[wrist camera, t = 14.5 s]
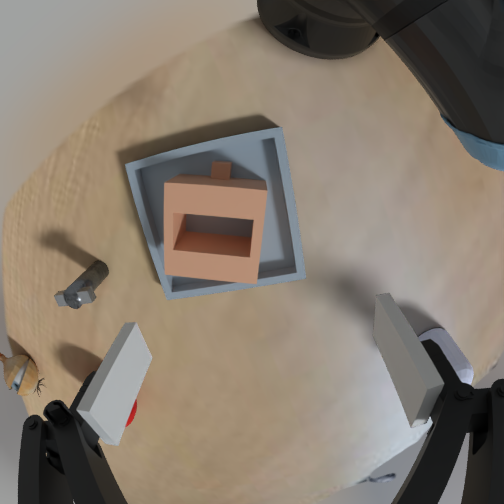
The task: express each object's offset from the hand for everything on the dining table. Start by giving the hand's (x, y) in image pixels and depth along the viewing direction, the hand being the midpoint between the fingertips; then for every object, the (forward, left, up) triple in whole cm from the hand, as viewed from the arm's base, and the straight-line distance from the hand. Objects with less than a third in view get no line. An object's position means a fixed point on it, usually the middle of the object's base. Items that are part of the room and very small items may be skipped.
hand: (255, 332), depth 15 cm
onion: (+21, -56, -22) cm, 64 cm away
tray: (-1, -4, -22) cm, 22 cm away
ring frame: (-1, -4, -21) cm, 22 cm away
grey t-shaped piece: (+3, -23, -22) cm, 32 cm away
